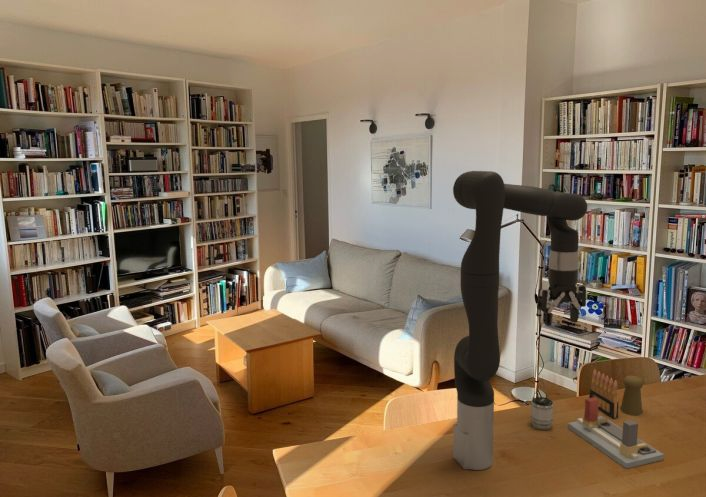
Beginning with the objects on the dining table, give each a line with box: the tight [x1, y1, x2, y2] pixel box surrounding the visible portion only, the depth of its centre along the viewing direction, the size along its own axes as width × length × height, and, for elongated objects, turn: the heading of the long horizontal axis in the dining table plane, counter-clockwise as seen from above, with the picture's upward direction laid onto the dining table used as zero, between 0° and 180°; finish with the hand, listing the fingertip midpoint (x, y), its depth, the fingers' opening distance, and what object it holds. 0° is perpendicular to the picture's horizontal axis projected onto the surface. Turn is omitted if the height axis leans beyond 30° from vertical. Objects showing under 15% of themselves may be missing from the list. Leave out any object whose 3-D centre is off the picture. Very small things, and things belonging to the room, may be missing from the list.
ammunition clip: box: [588, 368, 619, 420], centre depth 165 cm, size 11×2×12 cm, turn 16°
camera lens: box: [530, 396, 555, 430], centre depth 158 cm, size 6×6×8 cm
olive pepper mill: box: [619, 375, 644, 416], centre depth 165 cm, size 6×6×11 cm
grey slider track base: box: [567, 415, 665, 470], centre depth 147 cm, size 12×22×10 cm, turn 17°
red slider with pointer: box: [582, 397, 609, 428], centre depth 153 cm, size 7×3×8 cm, turn 107°
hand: (560, 323), depth 150 cm, fingers open, 8 cm apart
